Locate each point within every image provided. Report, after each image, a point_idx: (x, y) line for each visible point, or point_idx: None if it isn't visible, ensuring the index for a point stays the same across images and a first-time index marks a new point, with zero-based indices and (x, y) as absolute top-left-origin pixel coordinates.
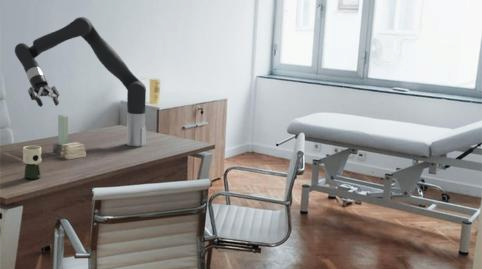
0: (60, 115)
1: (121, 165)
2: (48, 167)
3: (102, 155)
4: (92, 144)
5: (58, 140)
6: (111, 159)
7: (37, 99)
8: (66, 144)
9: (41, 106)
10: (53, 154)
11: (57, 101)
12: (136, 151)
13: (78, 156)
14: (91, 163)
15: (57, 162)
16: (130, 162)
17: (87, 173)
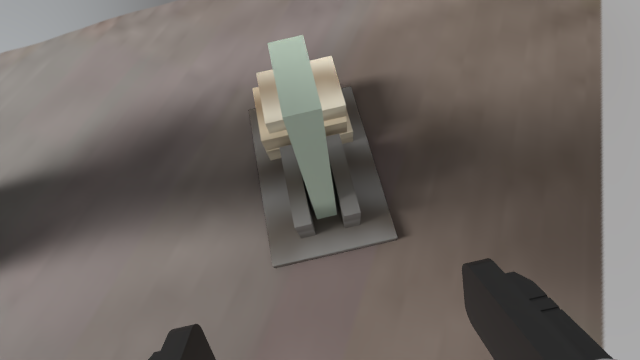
0: (308, 90)
1: (203, 8)
2: (435, 51)
3: (183, 131)
4: (95, 344)
5: (333, 192)
6: (188, 74)
7: (605, 352)
8: (329, 97)
9: (468, 301)
10: (373, 178)
11: (168, 351)
12: (33, 142)
13: None
14: None
15: (385, 97)
16: (158, 27)
17: None
